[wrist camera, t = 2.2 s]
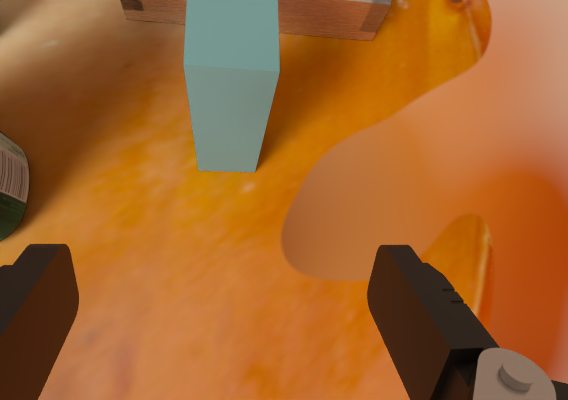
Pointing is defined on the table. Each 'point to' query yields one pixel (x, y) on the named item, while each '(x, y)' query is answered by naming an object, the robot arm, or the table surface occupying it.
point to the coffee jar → (12, 185)
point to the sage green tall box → (230, 79)
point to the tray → (286, 16)
